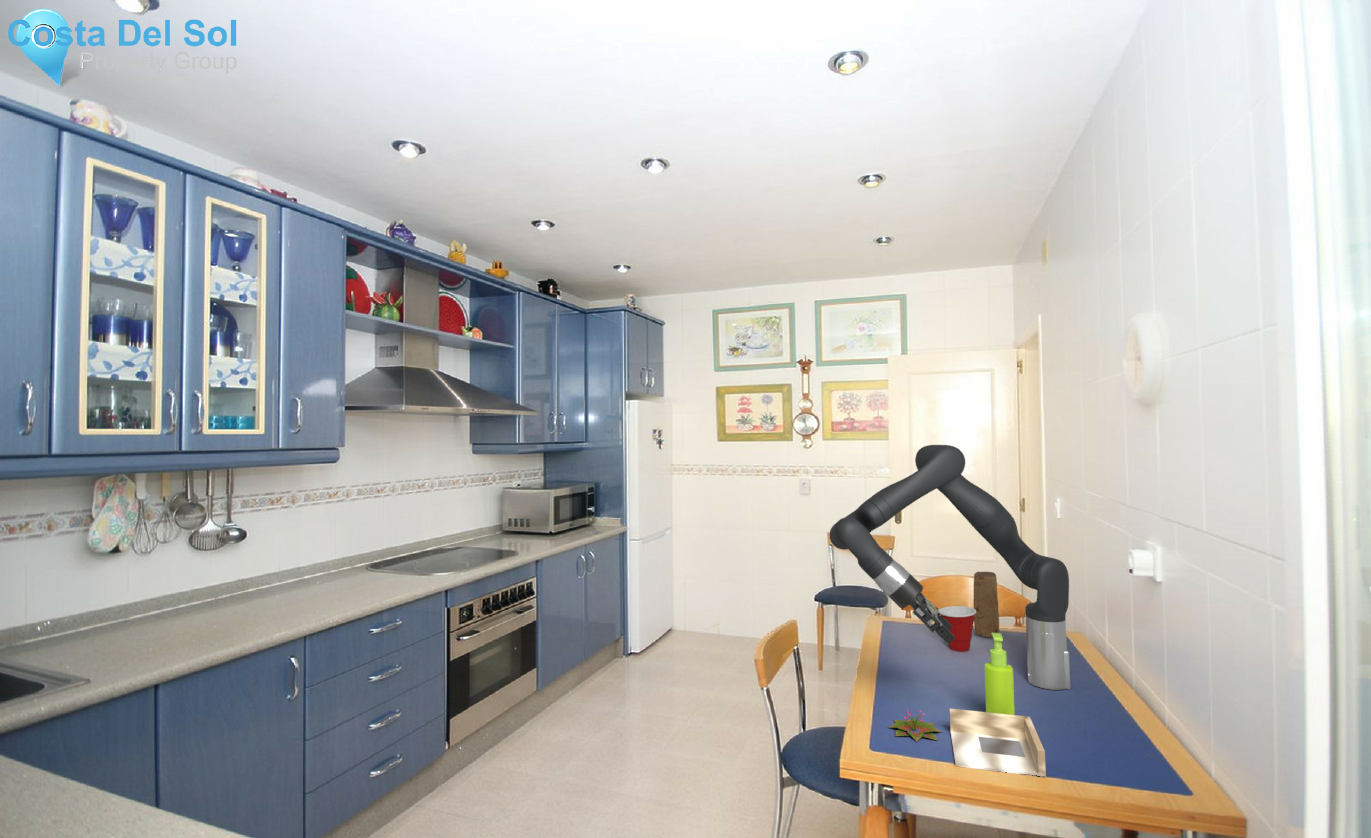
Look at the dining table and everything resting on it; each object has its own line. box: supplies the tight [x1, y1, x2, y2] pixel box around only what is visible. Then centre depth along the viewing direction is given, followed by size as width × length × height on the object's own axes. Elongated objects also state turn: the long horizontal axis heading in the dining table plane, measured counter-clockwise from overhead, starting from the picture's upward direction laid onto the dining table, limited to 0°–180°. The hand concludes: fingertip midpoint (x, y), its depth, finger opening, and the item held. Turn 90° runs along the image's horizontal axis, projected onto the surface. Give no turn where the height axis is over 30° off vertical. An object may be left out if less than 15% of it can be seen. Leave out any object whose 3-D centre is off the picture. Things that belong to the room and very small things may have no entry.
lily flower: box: [887, 709, 942, 742], centre depth 145 cm, size 12×12×5 cm
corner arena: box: [949, 708, 1047, 778], centre depth 134 cm, size 16×16×5 cm
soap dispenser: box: [983, 632, 1016, 715], centre depth 148 cm, size 6×7×20 cm
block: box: [973, 571, 1000, 639], centre depth 213 cm, size 11×8×20 cm
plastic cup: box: [938, 605, 976, 653], centre depth 200 cm, size 11×11×12 cm
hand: (950, 635), depth 151 cm, fingers open, 8 cm apart
